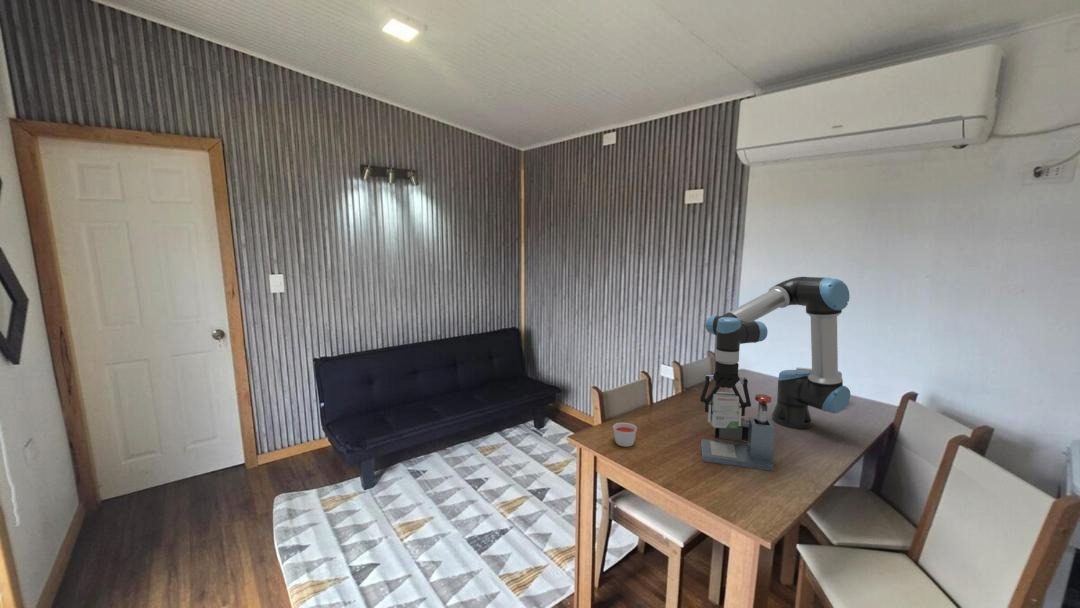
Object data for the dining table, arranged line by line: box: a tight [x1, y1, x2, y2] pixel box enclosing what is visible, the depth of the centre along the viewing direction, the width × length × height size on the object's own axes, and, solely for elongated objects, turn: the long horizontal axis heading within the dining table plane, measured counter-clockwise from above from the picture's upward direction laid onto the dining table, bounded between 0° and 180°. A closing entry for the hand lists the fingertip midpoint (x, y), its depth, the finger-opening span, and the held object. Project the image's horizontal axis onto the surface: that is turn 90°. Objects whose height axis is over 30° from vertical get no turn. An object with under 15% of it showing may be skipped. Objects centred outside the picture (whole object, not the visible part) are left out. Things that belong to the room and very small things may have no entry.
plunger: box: [754, 393, 772, 425], centre depth 147 cm, size 5×9×15 cm, turn 161°
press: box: [700, 417, 776, 472], centre depth 150 cm, size 22×14×14 cm, turn 71°
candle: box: [612, 422, 638, 448], centre depth 163 cm, size 9×9×6 cm
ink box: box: [709, 391, 740, 428], centre depth 150 cm, size 9×5×12 cm, turn 84°
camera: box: [714, 417, 749, 443], centre depth 167 cm, size 16×9×10 cm, turn 67°
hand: (723, 422), depth 151 cm, fingers closed on ink box, 9 cm apart
